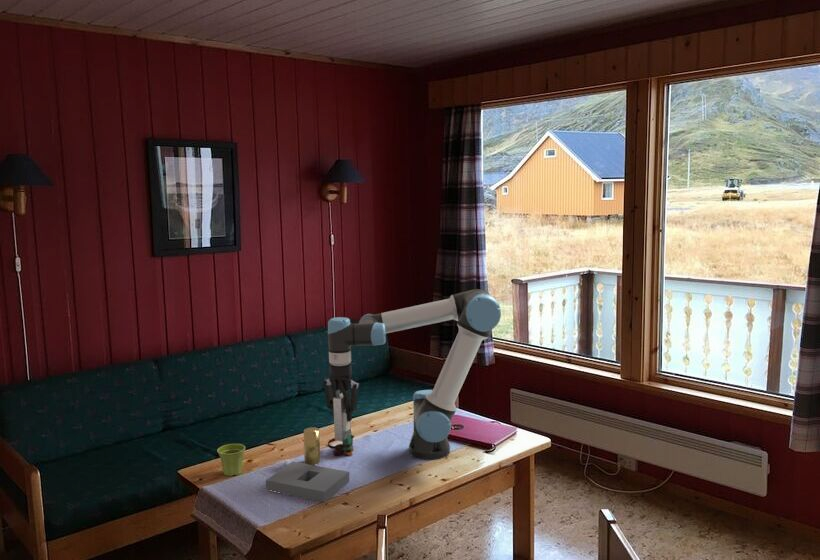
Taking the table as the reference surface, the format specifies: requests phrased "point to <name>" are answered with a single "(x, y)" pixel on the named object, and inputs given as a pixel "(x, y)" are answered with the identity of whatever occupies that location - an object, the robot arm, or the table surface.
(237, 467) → the plant pot
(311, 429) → the brass peg
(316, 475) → the slot plate
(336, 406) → the aluminium bar
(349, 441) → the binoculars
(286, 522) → the table surface
